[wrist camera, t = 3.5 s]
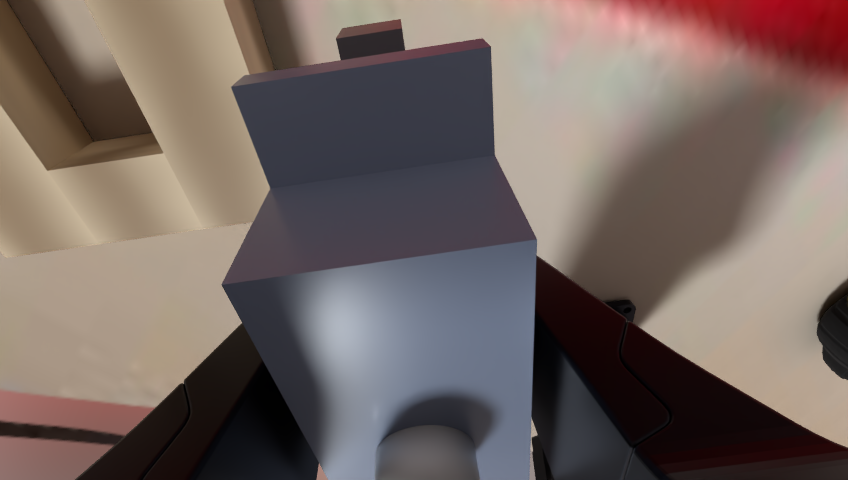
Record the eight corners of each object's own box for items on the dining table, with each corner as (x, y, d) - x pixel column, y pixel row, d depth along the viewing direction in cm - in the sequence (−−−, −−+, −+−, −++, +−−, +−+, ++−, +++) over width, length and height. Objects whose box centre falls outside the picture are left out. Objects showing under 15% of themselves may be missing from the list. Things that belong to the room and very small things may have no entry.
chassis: (175, -240, 12) (121, -288, 10) (310, 183, 20) (299, 215, 18) (-244, -167, 13) (-398, -195, 10) (52, 221, 21) (5, 257, 18)
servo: (454, 11, 8) (575, 130, 3) (477, 309, 13) (539, 568, 8) (289, 36, 9) (96, 201, 3) (372, 324, 13) (359, 590, 8)
